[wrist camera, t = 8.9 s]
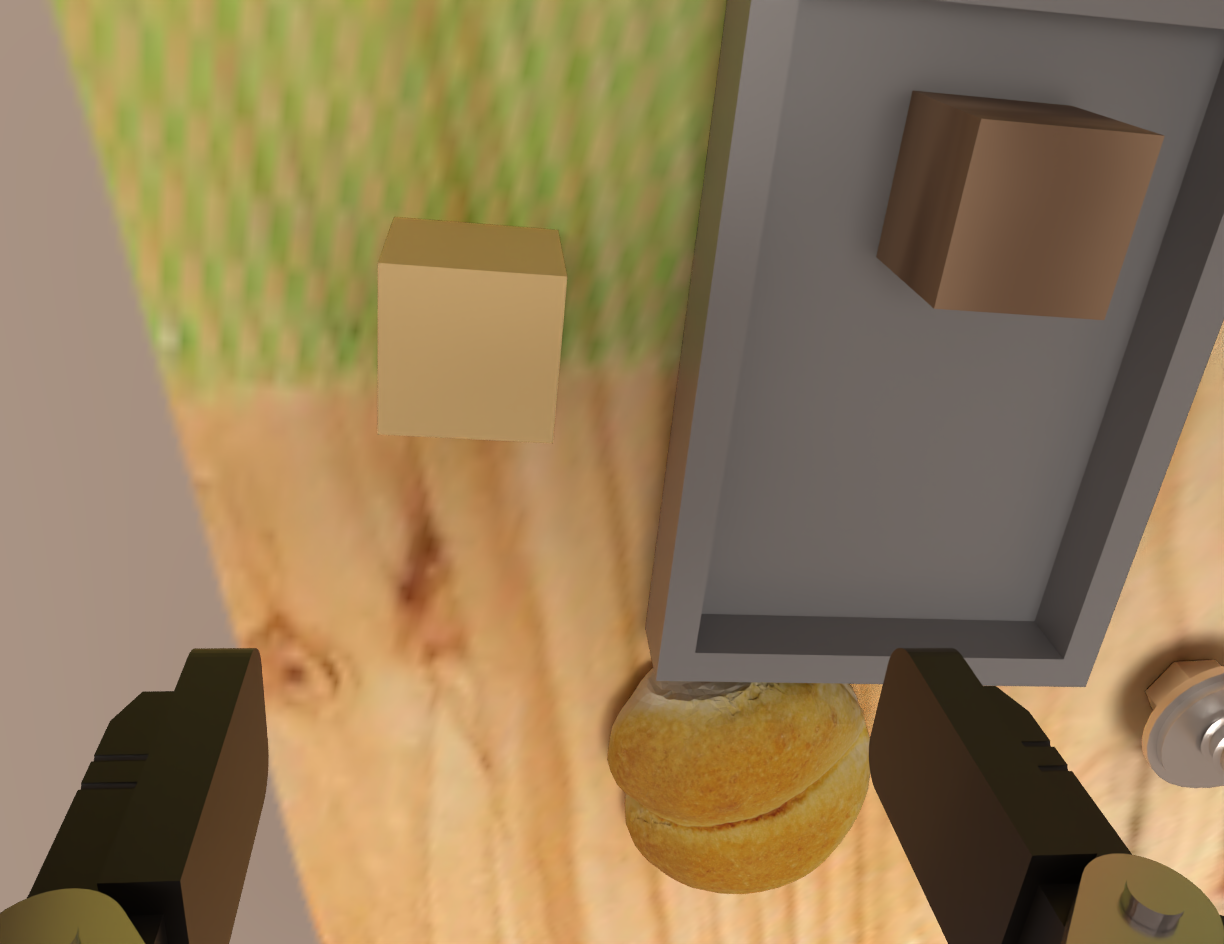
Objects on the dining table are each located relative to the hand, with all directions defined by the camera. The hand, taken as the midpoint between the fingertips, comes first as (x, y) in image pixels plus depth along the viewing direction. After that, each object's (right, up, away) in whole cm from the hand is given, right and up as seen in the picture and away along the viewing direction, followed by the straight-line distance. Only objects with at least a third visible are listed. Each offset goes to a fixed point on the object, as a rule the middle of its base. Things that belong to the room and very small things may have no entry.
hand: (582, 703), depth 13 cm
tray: (+9, +6, +15) cm, 18 cm away
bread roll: (+4, -6, +21) cm, 23 cm away
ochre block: (-3, +7, +13) cm, 16 cm away
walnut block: (+9, +10, +12) cm, 19 cm away
